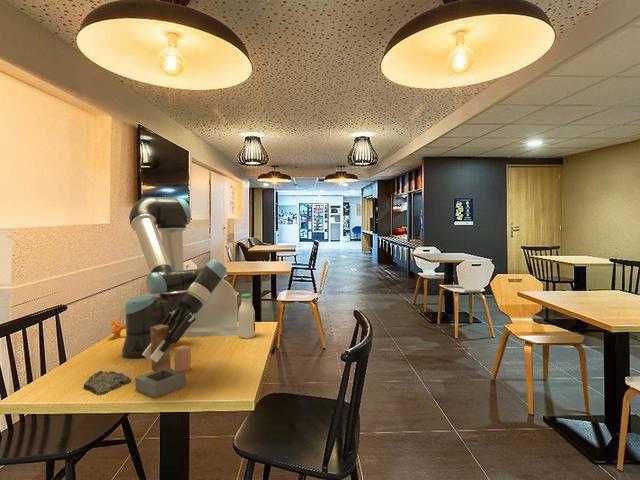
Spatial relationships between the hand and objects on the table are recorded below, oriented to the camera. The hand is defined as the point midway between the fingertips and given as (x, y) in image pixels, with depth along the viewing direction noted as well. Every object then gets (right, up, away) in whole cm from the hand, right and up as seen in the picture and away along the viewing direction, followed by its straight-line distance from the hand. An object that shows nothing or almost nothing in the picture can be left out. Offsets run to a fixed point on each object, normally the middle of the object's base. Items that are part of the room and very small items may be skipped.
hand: (149, 358), depth 122 cm
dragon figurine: (-30, -9, +62) cm, 70 cm away
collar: (+2, -11, +4) cm, 12 cm away
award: (+2, -8, +65) cm, 66 cm away
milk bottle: (+20, -8, +60) cm, 64 cm away
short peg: (+3, -10, +20) cm, 23 cm away
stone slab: (-19, -11, +7) cm, 23 cm away
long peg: (+2, -4, +3) cm, 6 cm away
